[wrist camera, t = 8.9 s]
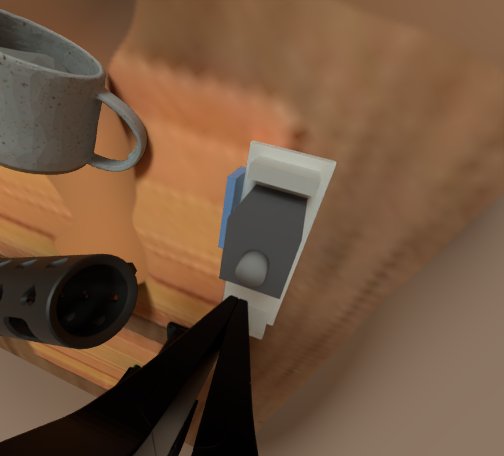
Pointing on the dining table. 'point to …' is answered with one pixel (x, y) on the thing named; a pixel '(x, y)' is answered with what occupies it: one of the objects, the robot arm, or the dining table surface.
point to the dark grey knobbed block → (263, 240)
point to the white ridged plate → (283, 179)
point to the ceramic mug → (53, 103)
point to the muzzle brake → (66, 298)
